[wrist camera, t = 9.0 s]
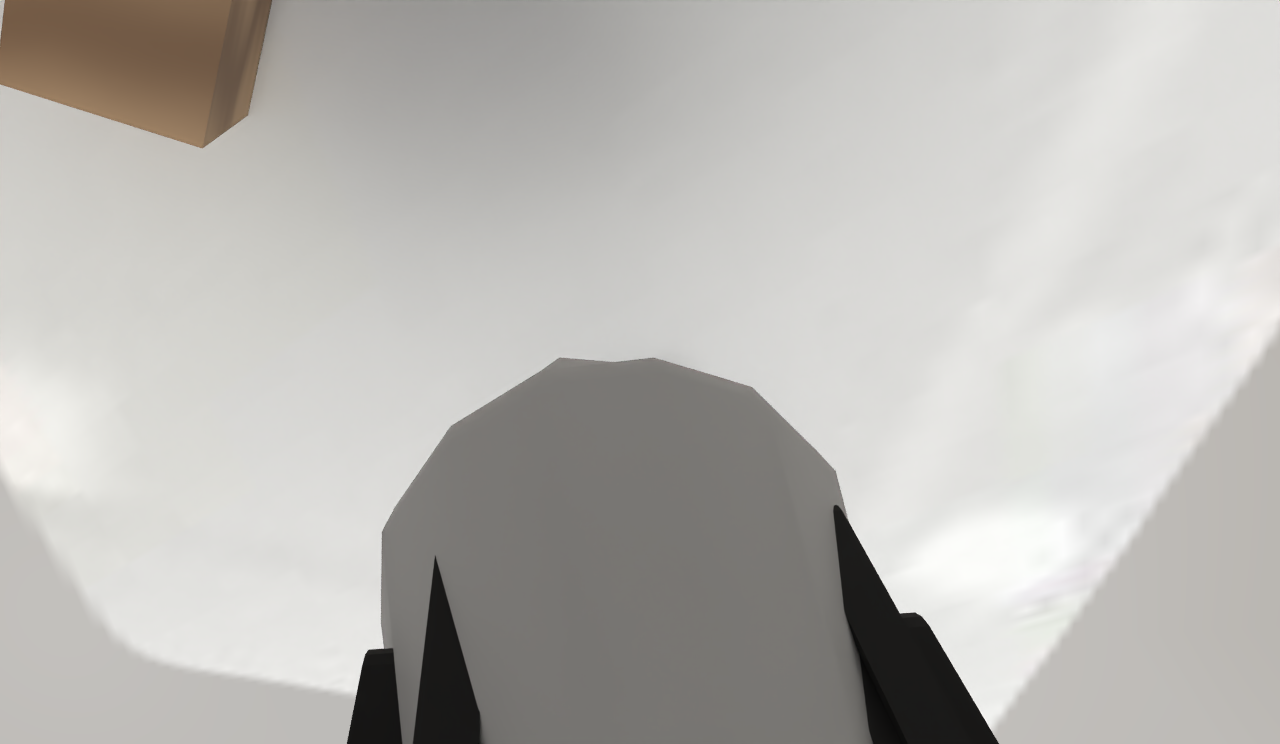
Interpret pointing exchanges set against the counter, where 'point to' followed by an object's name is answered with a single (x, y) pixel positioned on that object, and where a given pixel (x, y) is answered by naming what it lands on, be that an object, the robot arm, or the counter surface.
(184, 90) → the walnut block
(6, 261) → the counter surface
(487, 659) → the salt shaker
